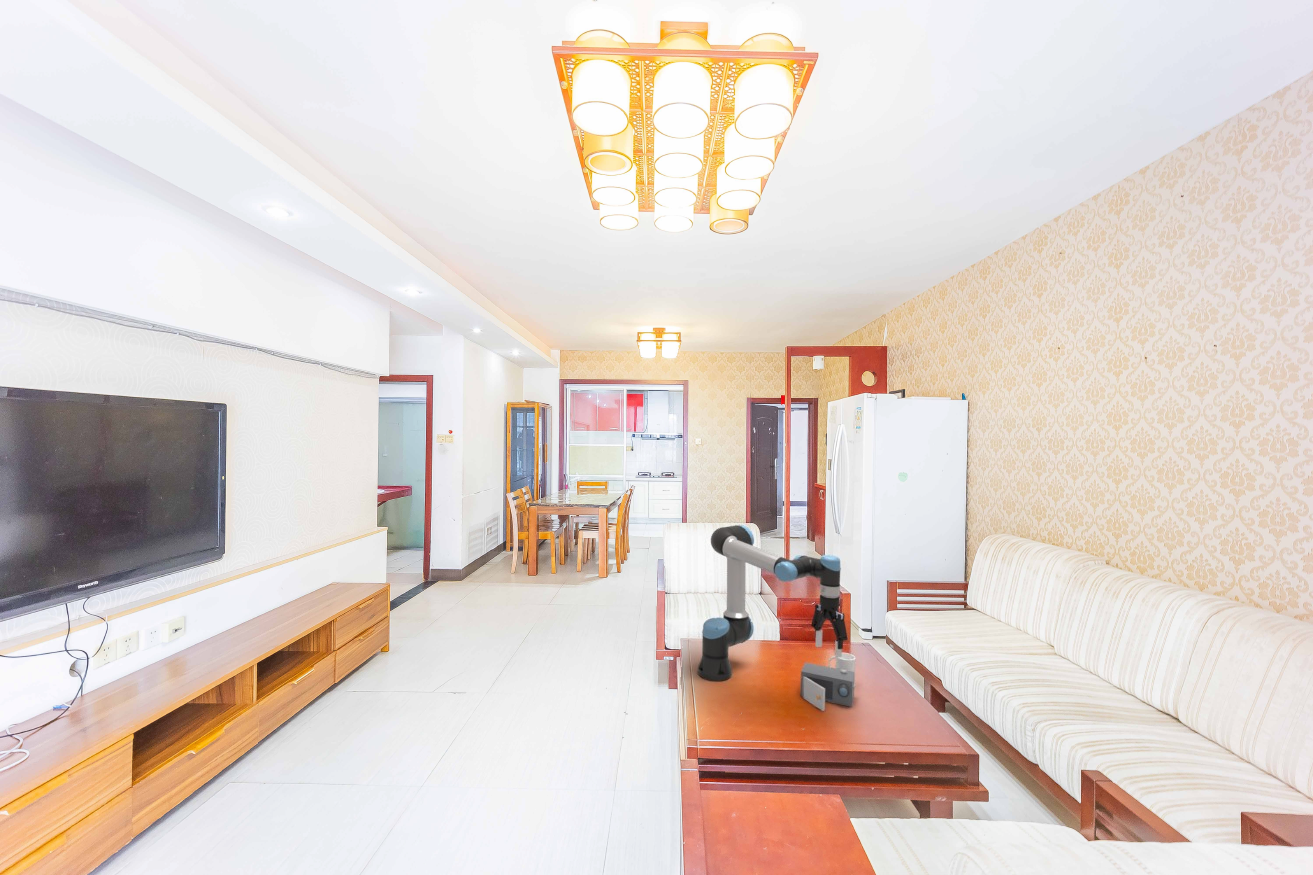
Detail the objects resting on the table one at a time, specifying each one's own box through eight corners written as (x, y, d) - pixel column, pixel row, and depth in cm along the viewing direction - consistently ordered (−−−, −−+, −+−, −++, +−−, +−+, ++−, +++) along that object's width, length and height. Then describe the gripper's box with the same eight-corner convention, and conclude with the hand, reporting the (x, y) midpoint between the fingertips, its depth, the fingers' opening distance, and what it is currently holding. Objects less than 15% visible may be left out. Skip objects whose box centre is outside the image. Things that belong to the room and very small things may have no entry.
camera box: (799, 697, 219) (800, 670, 219) (804, 685, 230) (805, 659, 230) (851, 708, 211) (852, 681, 211) (854, 696, 222) (854, 669, 222)
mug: (824, 680, 236) (824, 652, 236) (834, 674, 242) (834, 648, 242) (849, 690, 227) (849, 661, 227) (859, 684, 233) (859, 656, 233)
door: (799, 697, 219) (800, 676, 219) (803, 696, 220) (804, 675, 220) (820, 711, 208) (821, 689, 208) (824, 710, 209) (825, 688, 209)
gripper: (802, 588, 221) (801, 642, 221) (843, 604, 201) (842, 664, 201) (817, 586, 224) (815, 640, 224) (858, 602, 204) (857, 661, 204)
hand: (828, 651), depth 213 cm, fingers open, 10 cm apart
